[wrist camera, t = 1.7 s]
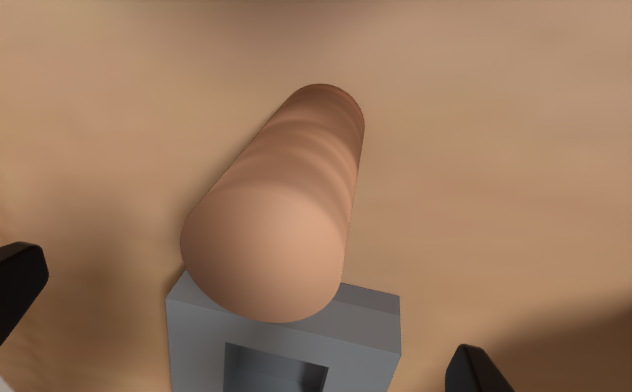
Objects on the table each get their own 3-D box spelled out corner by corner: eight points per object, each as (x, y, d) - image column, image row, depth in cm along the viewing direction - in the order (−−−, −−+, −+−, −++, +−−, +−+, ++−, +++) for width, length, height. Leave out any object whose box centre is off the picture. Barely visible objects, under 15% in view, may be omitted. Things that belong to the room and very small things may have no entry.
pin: (373, 93, 17) (357, 211, 8) (355, 173, 19) (326, 337, 10) (284, 75, 17) (177, 173, 8) (275, 157, 19) (182, 303, 10)
